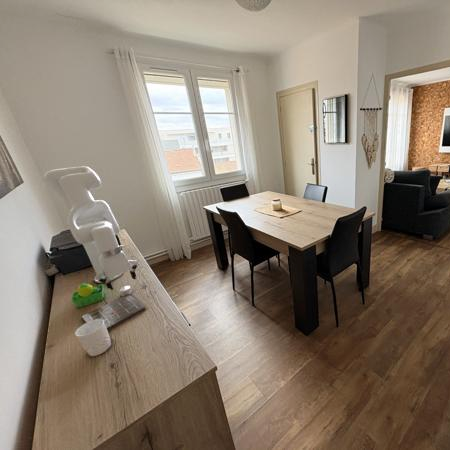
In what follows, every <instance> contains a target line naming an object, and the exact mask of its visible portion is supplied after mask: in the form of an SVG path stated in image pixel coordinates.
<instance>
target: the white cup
mask: <svg viewBox="0 0 450 450" xmlns="http://www.w3.org/2000/svg"><path fill="white" fill-rule="evenodd" d="M74 335H75V337H76V338H77V340H78V342H79V343H80V345H81V346H82V348H83V350H85V352H86V354H88V355H89V356H91V357H96V356H99V355H101V354H103V353H105V352H106V351H107V350H109V349H110V347H111V345H112V340H111V338H110V334H109V330H108V331H107V328H106V326H105V323H104V321H103V320H102V319H96V320H92V321H89V322H87V323H86V322H84V323H83V324H82V325H80V326H79V327H78V328H77V329H76V330H75V332H74Z"/></svg>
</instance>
